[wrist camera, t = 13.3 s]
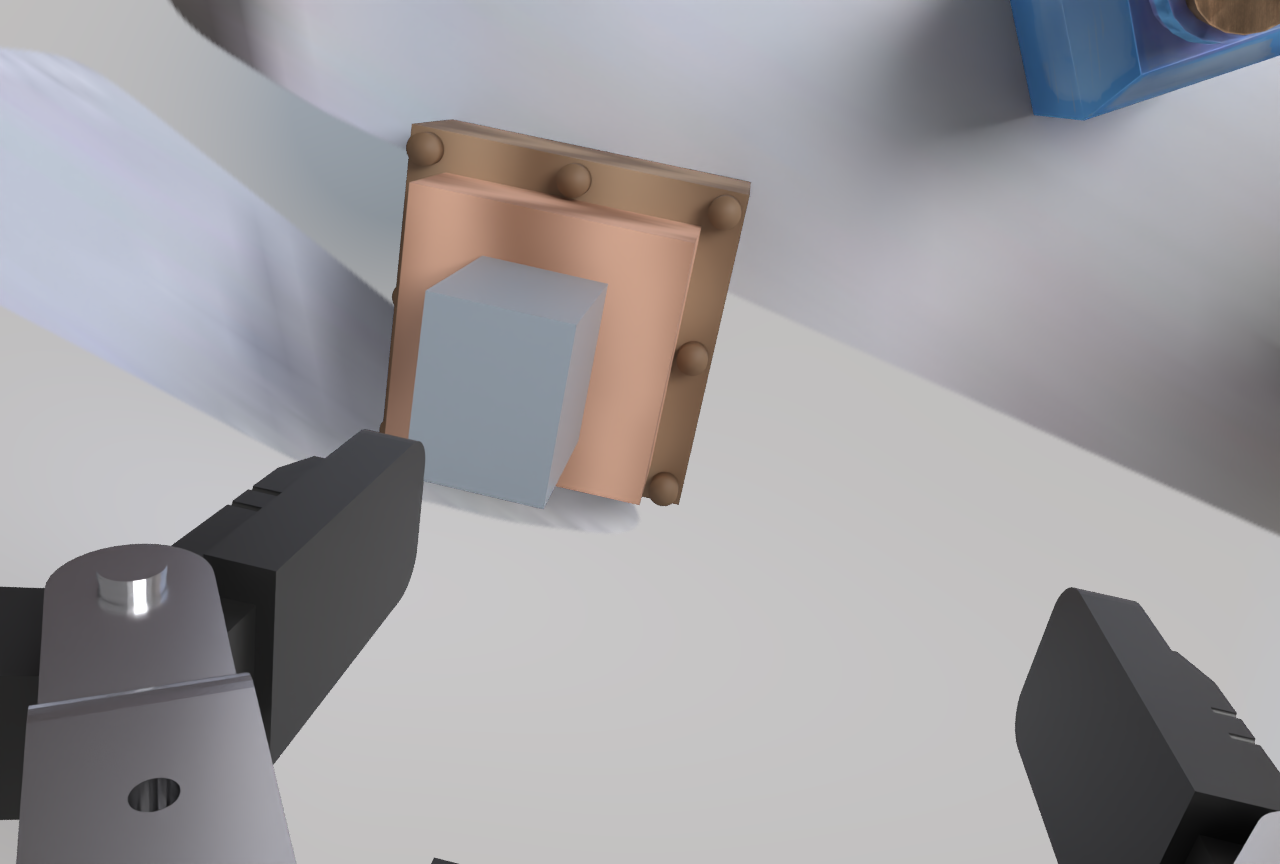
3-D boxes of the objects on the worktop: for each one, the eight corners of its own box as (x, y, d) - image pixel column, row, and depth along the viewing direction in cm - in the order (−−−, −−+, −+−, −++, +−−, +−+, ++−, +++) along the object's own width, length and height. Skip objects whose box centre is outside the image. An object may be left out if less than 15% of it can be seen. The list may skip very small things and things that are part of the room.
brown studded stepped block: (750, 181, 39) (748, 208, 31) (687, 460, 44) (670, 548, 36) (452, 119, 40) (370, 128, 32) (421, 401, 45) (343, 473, 36)
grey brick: (607, 283, 32) (576, 325, 27) (578, 440, 35) (543, 509, 29) (482, 255, 33) (425, 290, 27) (461, 413, 35) (403, 476, 29)
